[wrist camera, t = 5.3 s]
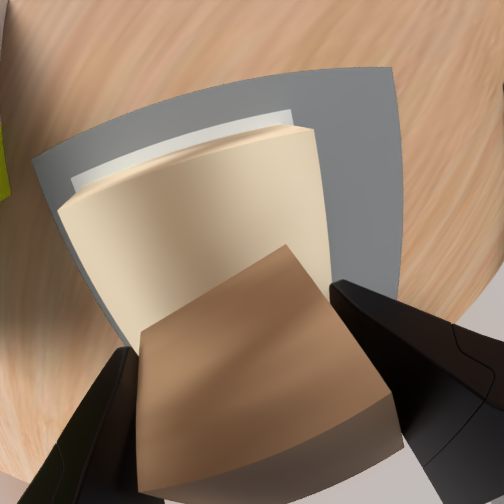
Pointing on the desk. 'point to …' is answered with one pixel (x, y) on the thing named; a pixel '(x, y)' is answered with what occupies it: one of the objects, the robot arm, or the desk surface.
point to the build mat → (257, 116)
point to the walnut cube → (257, 394)
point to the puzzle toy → (0, 176)
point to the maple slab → (199, 221)
